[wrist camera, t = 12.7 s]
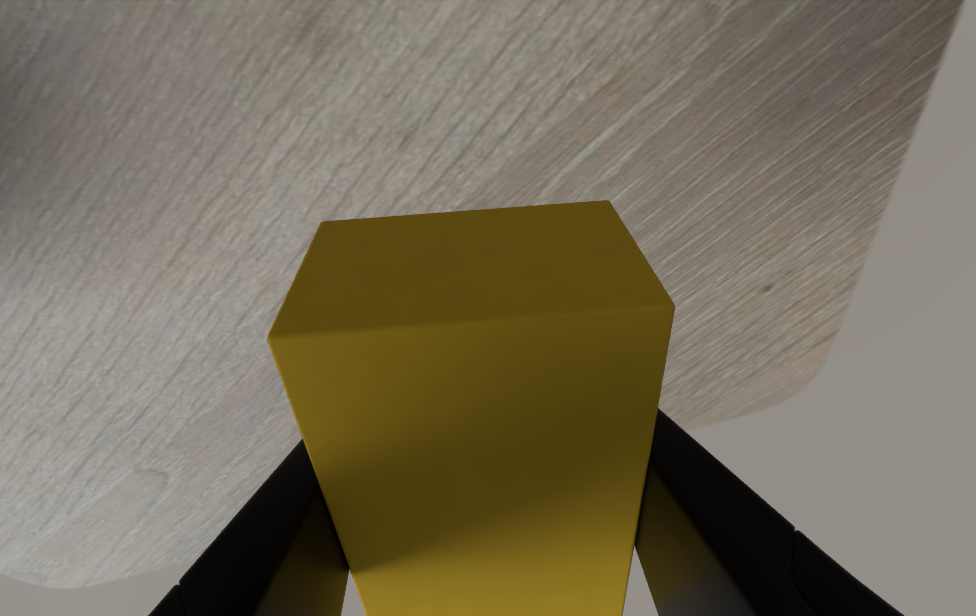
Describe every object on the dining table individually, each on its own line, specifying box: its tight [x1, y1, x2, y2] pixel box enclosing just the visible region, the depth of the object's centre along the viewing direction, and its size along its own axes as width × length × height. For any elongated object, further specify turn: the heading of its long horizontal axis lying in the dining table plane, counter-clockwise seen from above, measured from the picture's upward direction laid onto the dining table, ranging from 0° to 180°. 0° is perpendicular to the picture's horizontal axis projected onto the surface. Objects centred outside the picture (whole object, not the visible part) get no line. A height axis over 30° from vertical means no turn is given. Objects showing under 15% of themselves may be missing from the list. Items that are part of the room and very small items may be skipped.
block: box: [267, 200, 675, 616], centre depth 9 cm, size 7×4×3 cm, turn 3°
